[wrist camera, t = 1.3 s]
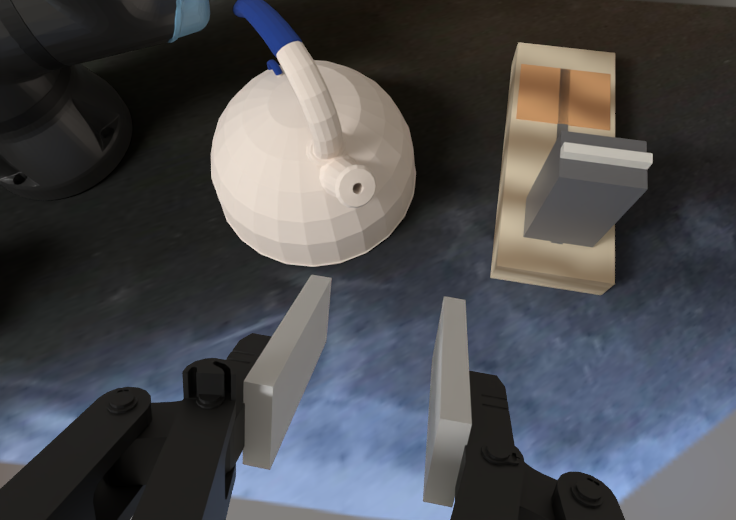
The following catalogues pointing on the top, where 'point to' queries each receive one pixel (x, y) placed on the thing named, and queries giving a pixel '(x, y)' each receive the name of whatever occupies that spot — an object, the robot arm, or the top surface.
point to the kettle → (310, 155)
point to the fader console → (529, 152)
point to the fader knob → (585, 187)
